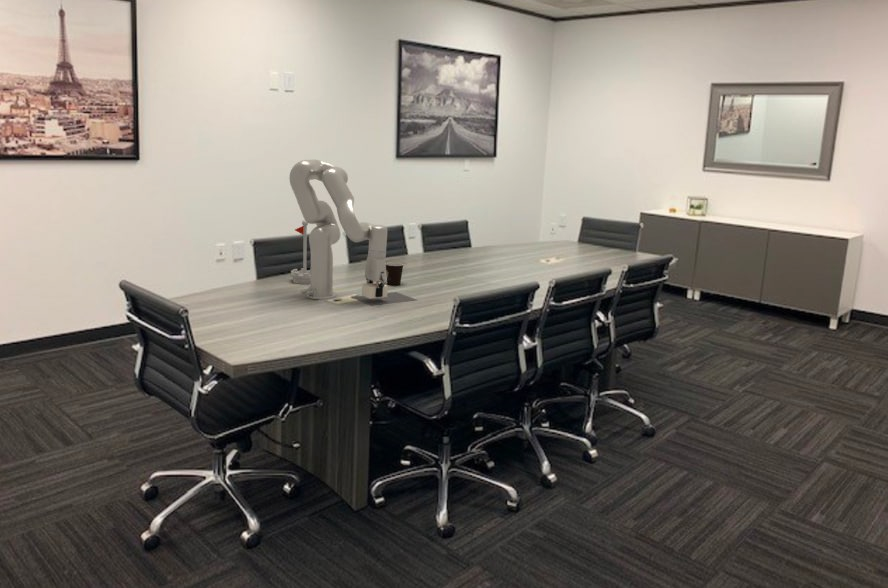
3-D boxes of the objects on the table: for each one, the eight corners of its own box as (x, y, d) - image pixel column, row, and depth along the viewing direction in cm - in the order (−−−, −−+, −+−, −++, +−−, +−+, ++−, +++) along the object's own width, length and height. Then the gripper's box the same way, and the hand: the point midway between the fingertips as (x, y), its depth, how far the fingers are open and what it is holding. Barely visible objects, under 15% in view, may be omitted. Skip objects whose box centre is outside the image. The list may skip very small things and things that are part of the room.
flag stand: (321, 280, 356) (322, 219, 349) (314, 285, 343) (314, 222, 336) (295, 278, 357) (295, 217, 350) (287, 283, 344) (287, 220, 338)
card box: (369, 298, 309) (370, 286, 308) (361, 295, 314) (362, 283, 313) (387, 297, 315) (387, 285, 313) (379, 293, 320) (379, 282, 318)
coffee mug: (401, 286, 349) (402, 266, 347) (383, 285, 350) (384, 265, 347) (403, 281, 361) (404, 262, 359) (386, 280, 361) (387, 261, 359)
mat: (371, 307, 307) (371, 305, 306) (350, 298, 320) (350, 297, 320) (418, 301, 321) (418, 300, 321) (395, 293, 335) (395, 291, 335)
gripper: (359, 250, 314) (356, 290, 319) (380, 258, 301) (377, 300, 305) (373, 250, 319) (371, 289, 323) (395, 257, 306) (392, 298, 310)
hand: (374, 294), depth 314 cm, fingers closed on card box, 6 cm apart
